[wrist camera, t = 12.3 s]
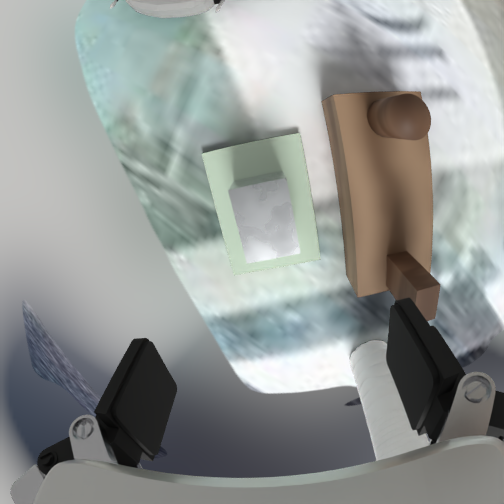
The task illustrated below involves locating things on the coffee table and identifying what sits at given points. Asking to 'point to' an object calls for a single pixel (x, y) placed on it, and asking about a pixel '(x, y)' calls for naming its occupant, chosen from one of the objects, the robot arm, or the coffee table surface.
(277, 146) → the mat
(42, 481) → the robot arm
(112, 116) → the coffee table surface
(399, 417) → the water bottle
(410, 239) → the plane body
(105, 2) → the coffee table surface
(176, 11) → the toy panda
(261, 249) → the grey rectangular block
